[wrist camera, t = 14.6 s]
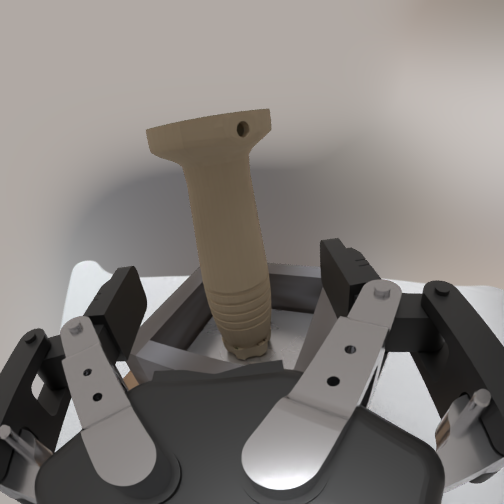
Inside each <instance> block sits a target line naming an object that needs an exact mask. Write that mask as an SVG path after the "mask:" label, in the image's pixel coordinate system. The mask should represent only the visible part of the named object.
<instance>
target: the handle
mask: <svg viewBox="0 0 504 504" xmlns="http://www.w3.org/2000/svg"><path fill="white" fill-rule="evenodd" d="M270 131H271V118H270V110H269V109H259V110H250V111H241V112H234V113H226V114H220V115H213V116H207V117H201V118H196V119H191V120H185V121H180V122H176V123H171V124H166V125H162V126H158V127H154V128H150V129H147V130H146V134H147V139H148V144H149V148H150V151H151V153H152V154H154V155H156V156H158V157H160V158H163V159H167V160H170V161H173V162H175V163H178V164H179V165H180V166H182V168H183V171H184V175H185V179H186V182H187V186H188V193H189V199H190V206H191V212H192V218H193V224H194V230H195V237H196V243H197V249H198V256H199V262H200V268H201V274H202V280H203V284H204V289H205V293H206V297H207V301H208V304H209V307H210V310H211V313H212V315H213V318H214V321H215V323H216V325H217V327H218V330H219V331H220V333H221V335H222V337H221V338H222V341H223V344H224V346H225V348H226V350H227V351H228V352H231V353H234V354H235V355H236V357H237V358H238V359H243V360H245V359H246V358H248V357H252V356H261V355H262V354H264V353H265V352H266V351H267V342H268V341H269V340H270V338H271V326H270V325H271V288H270V279H269V272H268V265H267V260H266V255H265V250H264V245H263V240H262V234H261V229H260V224H259V219H258V214H257V208H256V203H255V198H254V192H253V187H252V181H251V176H250V165H249V153H250V151H251V149H252V148H253V147H254V146H255V145H256V144H257V143H258V142H259V141H260V140H261V139H262V138H263V137H265V136H266V134H267V133H269V132H270Z"/></svg>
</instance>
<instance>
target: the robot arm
mask: <svg viewBox="0 0 504 504" xmlns="http://www.w3.org/2000/svg"><path fill="white" fill-rule="evenodd" d="M320 262H321V263H320V264H321V265H320V267H321V281H322V285H323V288H324V290H325V292H326V295H327V297H328V299H329V301H330V303H331V306H332V308H333V310H334V312H335V315H336V317H337V319H338V320H337V321H336V323H335V325H334V326H333V328H332V330H331V331H330V333H329V335H328V336H327V338H326V339H325V341H324V343H323V344H322V346H321V347H320V349H319V351H318V352H317V354H316V355H315V357H314V358H313V360H312V361H311V363H310V364H309V366H308V368H307V369H306V371H305V372H302V371H297V370H291V369H284V367H283V361H282V360H276V361H269V362H261V363H253V364H248V365H245V366H241V367H238V368H235V369H231V370H228V371H224V372H221V373H217V374H211V373H203V372H196V371H189V370H167V371H154V374H153V378H152V380H151V381H148V382H145V383H142V384H140V385H137V386H135V387H134V388H132V389H130V390H129V389H128V387H127V386H126V384H125V382H124V380H123V378H122V377H121V375H120V373H119V371H118V369H117V368H116V366H115V364H116V361H128V358H129V356H130V353H131V350H132V347H133V344H134V341H135V339H136V336H137V333H138V330H139V328H140V325H141V322H142V320H143V317H144V314H145V312H146V309H147V299H146V295H145V292H144V289H143V286H142V284H141V281H140V278H139V275H138V272H137V270H136V268H135V267H134V266H129V267H122V268H118V269H117V270H116V271H115V273H114V274H113V276H112V278H111V279H110V280H109V281H107V282H106V283H105V284H104V285H103V286H102V287H101V288H100V290H99V291H98V293H97V295H96V296H95V297H94V299H93V301H92V302H91V304H90V305H89V307H88V309H87V310H86V312H85V314H84V315H83V316H79V317H76V318H73V319H71V320H70V321H68V322H67V323H66V324H65V325H64V326H63V327H62V329H61V331H60V335H58V336H54V337H50V338H48V337H47V335H46V334H45V332H44V330H43V329H34V330H31V331H29V332H27V333H26V334H25V335H24V336H23V337H22V338H21V339H20V341H19V343H18V344H17V346H16V348H15V349H14V351H13V352H12V354H11V356H10V358H9V360H8V361H7V363H6V365H5V366H4V368H3V370H2V372H1V373H0V491H1V492H2V493H4V494H6V495H7V496H9V497H10V498H13V499H15V500H17V501H18V502H20V503H22V504H441V500H442V496H443V493H446V492H448V491H450V490H452V489H455V488H457V487H459V486H461V485H463V484H465V483H467V482H471V483H482V482H484V481H486V480H488V479H489V478H490V477H491V476H493V475H494V474H495V473H497V472H498V471H499V470H500V469H502V468H503V467H504V347H503V345H502V344H501V342H500V341H499V340H498V338H497V337H496V336H495V334H494V333H493V332H492V331H491V329H490V328H489V327H488V325H487V324H486V323H485V322H484V320H483V319H482V318H481V317H480V315H479V314H478V313H477V312H476V310H475V309H474V308H473V307H472V306H471V304H470V303H469V302H468V301H467V300H466V299H465V297H464V296H463V295H462V294H461V293H460V292H459V290H458V289H457V288H456V287H455V286H453V285H452V284H450V283H447V282H445V281H431V282H428V283H427V284H426V285H425V286H424V289H423V294H408V293H402V290H401V288H400V287H399V286H398V285H397V284H395V283H394V282H391V281H388V280H382V279H381V278H380V277H379V275H378V274H377V273H376V272H375V270H374V269H373V268H372V266H370V265H369V263H368V261H367V260H365V258H364V256H363V255H362V254H361V253H360V252H359V251H357V250H355V249H353V248H345V246H344V245H343V244H342V242H341V241H340V240H339V239H338V238H335V239H327V240H321V242H320ZM389 352H410V354H411V356H412V358H413V360H414V362H415V364H416V366H417V368H418V370H419V372H420V374H421V376H422V378H423V380H424V382H425V384H426V387H427V389H428V391H429V393H430V395H431V397H432V400H433V402H434V404H435V406H436V409H437V411H438V413H439V416H440V418H441V421H440V423H439V424H438V426H437V428H436V432H435V439H436V444H437V448H436V452H435V450H434V449H433V448H432V447H431V446H430V445H428V444H427V443H426V442H424V441H422V440H421V439H419V438H417V437H415V436H413V435H412V434H410V433H408V432H406V431H405V430H403V429H401V428H399V427H398V426H396V425H394V424H392V423H391V422H389V421H387V420H385V419H384V418H382V417H380V416H379V415H377V414H375V413H374V412H372V411H370V410H369V409H368V408H369V405H370V402H371V400H372V397H373V394H374V391H375V389H376V386H377V384H378V381H379V379H380V376H381V374H382V371H383V369H384V366H385V363H386V360H387V358H388V355H389ZM36 374H38V375H39V377H40V378H41V379H42V381H43V382H44V385H43V388H42V390H41V392H40V394H39V397H38V399H36V398H35V397H34V396H33V394H32V390H31V386H32V382H33V380H34V378H35V376H36ZM71 397H72V400H73V403H74V406H75V409H76V412H77V415H78V417H79V420H80V423H81V426H82V430H81V431H80V432H79V433H78V434H77V435H75V436H74V437H73V438H72V439H71V440H70V441H68V442H67V443H66V444H65V445H64V446H62V447H61V448H60V449H59V450H58V451H56V452H55V448H56V445H57V441H58V438H59V434H60V431H61V428H62V425H63V421H64V418H65V415H66V412H67V409H68V406H69V403H70V400H71ZM54 452H55V453H54Z"/></svg>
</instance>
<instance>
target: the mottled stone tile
mask: <svg viewBox="0 0 504 504" xmlns="http://www.w3.org/2000/svg"><path fill="white" fill-rule="evenodd" d="M313 315H314V314H309V313H300V312H292V311H284V310H276V309H271V325H270V326H271V338H270V340H269V341H268V342H267V351H266V352H265V353H264V354H262V355H261V356H252V357H248V358H246V359H245V360H243V359H238V358H237V357H236V355H235V354H234V353H231V352H228V351H227V350H226V348H225V346H224V344H223V341H222V338H221V337H222V335H221V333H220V331H219V330H218V327H217V325H216V323H215V321H214V318H213V317H212V318H211V319H210V321H209V322H208V323H207V324H206V326H205V327H204V328H203V330H202V331H201V332H200V334H199V335H198V336H197V338H196V339H195V340H194V342H193V343H192V344H191V346H190V347H189V348H188V349H187V351H188V352H192V353H195V354H199V355H203V356H207V357H211V358H215V359H219V360H223V361H227V362H231V363H235V364H240V365H244V366H245V365H248V364H253V363H261V362H269V361H276V360H282V361H283V367H284V369H291V370H294V367H295V365H296V362H297V359H298V357H299V354H300V351H301V349H302V346H303V343H304V340H305V338H306V335H307V332H308V329H309V326H310V323H311V321H312V318H313Z"/></svg>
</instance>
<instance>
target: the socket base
mask: <svg viewBox="0 0 504 504" xmlns="http://www.w3.org/2000/svg"><path fill="white" fill-rule="evenodd" d="M267 265H268V272H269V279H270V288H271V309H276V310H284V311H292V312H300V313H309V314H314V315H313V318H312V321H311V323H310V326H309V329H308V332H307V335H306V338H305V340H304V343H303V346H302V349H301V351H300V354H299V357H298V359H297V362H296V365H295V367H294V370H297V371H302V372H305V371H306V369H307V368H308V366H309V364H310V363H311V361H312V360H313V358H314V357H315V355H316V354H317V352H318V351H319V349H320V347H321V346H322V344H323V343H324V341H325V339H326V338H327V336H328V335H329V333H330V331H331V330H332V328H333V326H334V325H335V323H336V321H337V320H338V319H337V317H336V315H335V312H334V310H333V308H332V306H331V303H330V301H329V299H328V297H327V295H326V292H325V290H324V288H323V285H322V281H321V267H312V266H300V265H286V264H274V263H267ZM212 317H213V315H212V313H211V310H210V307H209V304H208V301H207V297H206V293H205V289H204V284H203V280H202V274H201V268H200V267H199V268H198V269H197V270H196V271H195V272H194V273H193V274H192V275H191V276H190V277H189V278H188V279H187V280H186V281H185V282H184V283H183V284H182V285H181V286H180V287H179V288H178V289H177V290H176V291H175V292H174V293H173V294H172V295H171V296H170V297H169V298H168V299H167V300H166V301H165V302H164V303H163V304H162V305H161V306H160V307H159V308H158V309H157V310H156V311H155V312H154V313H153V314H152V315H151V316H150V317H149V318H148V319H147V320H146V321H145V322H144V323H143V325H142V326H141V327H140V328H139V330H138V333H137V336H136V339H135V341H134V344H133V347H132V350H131V353H130V356H129V358H128V361H126V363H127V365H128V367H129V368H130V371H129V372H128V374H127V375H126V376H125V377H124V378H123V380H124V382H125V384H126V386H127V387H128V389H129V390H130V389H132V388H134V387H135V386H137V385H140V384H142V383H145V382H148V381H151V380H152V378H153V374H154V371H167V370H189V371H196V372H203V373H211V374H217V373H221V372H224V371H228V370H231V369H235V368H238V367H241V366H244V365H240V364H235V363H231V362H227V361H223V360H219V359H215V358H211V357H207V356H203V355H199V354H195V353H192V352H188V351H187V349H188V348H189V347H190V346H191V344H192V343H193V342H194V340H195V339H196V338H197V336H198V335H199V334H200V332H201V331H202V330H203V328H204V327H205V326H206V324H207V323H208V322H209V321H210V319H211V318H212Z"/></svg>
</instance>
